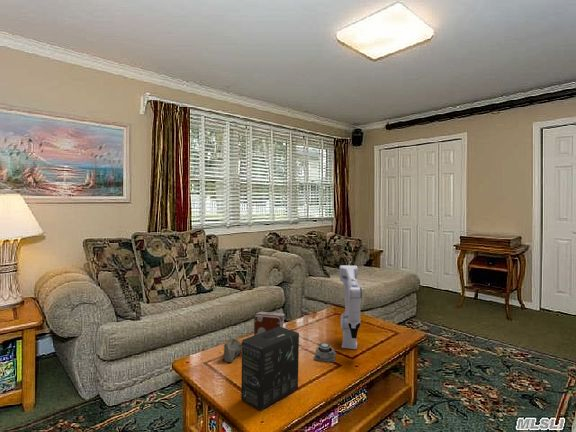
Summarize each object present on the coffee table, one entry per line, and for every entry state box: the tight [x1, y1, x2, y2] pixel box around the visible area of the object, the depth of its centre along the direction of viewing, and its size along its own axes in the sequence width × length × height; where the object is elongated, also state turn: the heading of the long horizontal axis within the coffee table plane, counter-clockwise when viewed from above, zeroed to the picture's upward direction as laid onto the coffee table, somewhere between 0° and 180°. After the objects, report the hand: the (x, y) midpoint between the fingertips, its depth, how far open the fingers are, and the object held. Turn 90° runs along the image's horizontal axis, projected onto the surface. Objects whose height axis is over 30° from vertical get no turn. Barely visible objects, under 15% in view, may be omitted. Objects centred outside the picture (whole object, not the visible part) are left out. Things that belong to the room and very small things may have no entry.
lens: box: [319, 342, 331, 352], centre depth 176 cm, size 5×5×5 cm
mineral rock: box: [222, 337, 242, 363], centre depth 175 cm, size 13×11×10 cm
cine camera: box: [253, 311, 290, 336], centre depth 182 cm, size 9×19×20 cm, turn 78°
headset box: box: [240, 326, 300, 411], centre depth 142 cm, size 22×12×26 cm, turn 139°
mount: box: [313, 345, 337, 363], centre depth 176 cm, size 10×10×4 cm
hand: (354, 337), depth 175 cm, fingers closed
